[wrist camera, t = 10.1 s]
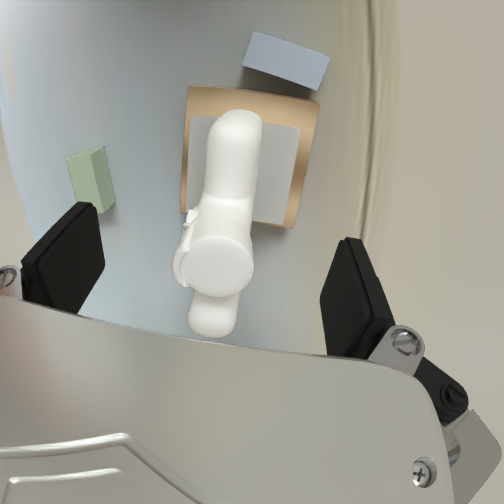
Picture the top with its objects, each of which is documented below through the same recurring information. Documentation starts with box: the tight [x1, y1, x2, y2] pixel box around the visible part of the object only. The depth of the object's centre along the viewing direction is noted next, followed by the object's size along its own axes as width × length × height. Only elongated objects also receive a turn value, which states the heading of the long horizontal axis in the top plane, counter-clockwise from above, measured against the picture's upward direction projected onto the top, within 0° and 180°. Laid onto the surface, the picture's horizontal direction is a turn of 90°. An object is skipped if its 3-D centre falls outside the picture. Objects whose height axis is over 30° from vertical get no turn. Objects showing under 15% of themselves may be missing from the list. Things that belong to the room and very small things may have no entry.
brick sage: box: [66, 147, 116, 214], centre depth 27 cm, size 6×3×3 cm, turn 3°
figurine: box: [172, 109, 301, 338], centre depth 17 cm, size 7×9×15 cm
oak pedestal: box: [180, 85, 320, 229], centre depth 25 cm, size 11×10×3 cm
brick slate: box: [242, 31, 331, 91], centre depth 20 cm, size 6×3×3 cm, turn 72°
